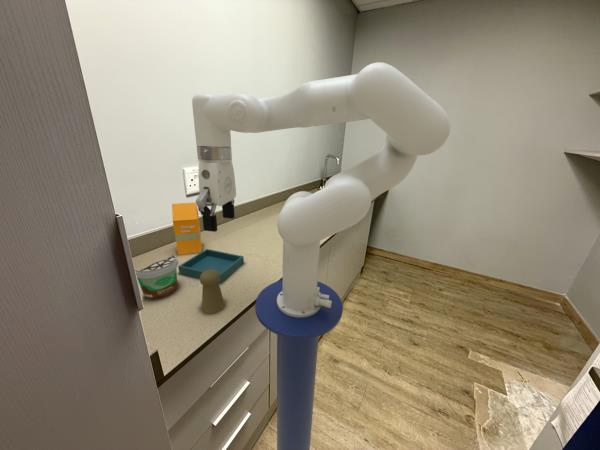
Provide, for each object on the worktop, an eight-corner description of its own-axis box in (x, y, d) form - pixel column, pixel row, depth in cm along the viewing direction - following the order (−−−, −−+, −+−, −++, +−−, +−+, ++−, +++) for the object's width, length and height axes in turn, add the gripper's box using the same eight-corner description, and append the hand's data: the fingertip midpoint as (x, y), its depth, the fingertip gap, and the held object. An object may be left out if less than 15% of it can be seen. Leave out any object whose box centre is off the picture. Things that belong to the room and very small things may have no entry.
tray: (243, 263, 92) (243, 256, 91) (220, 284, 79) (219, 276, 78) (207, 255, 96) (206, 248, 95) (179, 273, 83) (178, 266, 82)
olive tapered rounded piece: (228, 304, 69) (226, 271, 66) (211, 316, 65) (207, 281, 61) (215, 296, 73) (211, 264, 69) (197, 307, 68) (192, 273, 64)
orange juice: (180, 246, 103) (172, 201, 96) (202, 244, 106) (196, 200, 99) (177, 255, 96) (170, 206, 89) (201, 252, 99) (195, 205, 92)
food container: (152, 307, 67) (145, 276, 64) (139, 300, 70) (132, 270, 66) (190, 285, 77) (186, 257, 74) (178, 280, 80) (173, 252, 77)
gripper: (211, 158, 47) (217, 238, 53) (244, 153, 63) (246, 215, 69) (176, 156, 48) (186, 235, 54) (217, 151, 64) (222, 212, 70)
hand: (220, 223), depth 62 cm, fingers open, 9 cm apart
